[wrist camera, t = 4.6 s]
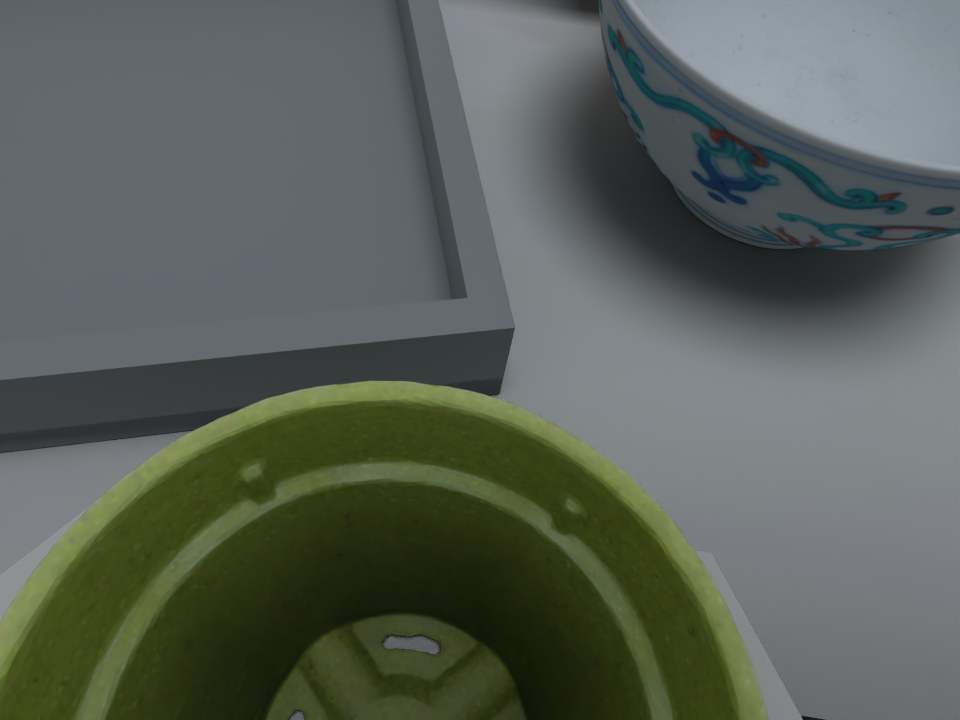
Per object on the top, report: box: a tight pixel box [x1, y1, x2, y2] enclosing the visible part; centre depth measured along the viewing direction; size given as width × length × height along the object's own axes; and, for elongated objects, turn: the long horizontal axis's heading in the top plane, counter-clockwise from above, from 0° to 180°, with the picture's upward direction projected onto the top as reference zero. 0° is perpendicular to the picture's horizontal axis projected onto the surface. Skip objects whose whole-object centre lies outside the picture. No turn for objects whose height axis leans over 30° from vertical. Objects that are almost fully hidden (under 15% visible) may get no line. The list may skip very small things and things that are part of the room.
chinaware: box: [599, 0, 960, 250], centre depth 22 cm, size 15×15×8 cm
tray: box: [0, 0, 515, 453], centre depth 22 cm, size 20×20×4 cm
